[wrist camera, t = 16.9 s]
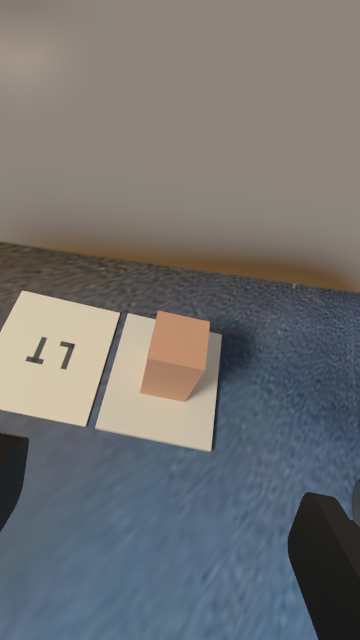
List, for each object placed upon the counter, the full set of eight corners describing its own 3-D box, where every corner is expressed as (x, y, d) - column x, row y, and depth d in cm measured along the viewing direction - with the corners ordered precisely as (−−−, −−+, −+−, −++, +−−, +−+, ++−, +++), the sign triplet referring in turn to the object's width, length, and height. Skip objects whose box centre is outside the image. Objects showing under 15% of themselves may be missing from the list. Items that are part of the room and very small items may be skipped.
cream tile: (120, 313, 41) (120, 312, 41) (85, 427, 33) (85, 426, 33) (22, 291, 40) (22, 290, 40) (-36, 402, 32) (-37, 402, 32)
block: (189, 360, 38) (210, 322, 31) (184, 401, 36) (205, 370, 28) (148, 352, 38) (158, 310, 31) (139, 393, 35) (148, 358, 28)
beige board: (220, 337, 42) (222, 334, 41) (209, 452, 34) (211, 450, 34) (127, 315, 41) (128, 313, 40) (95, 429, 33) (95, 427, 33)
